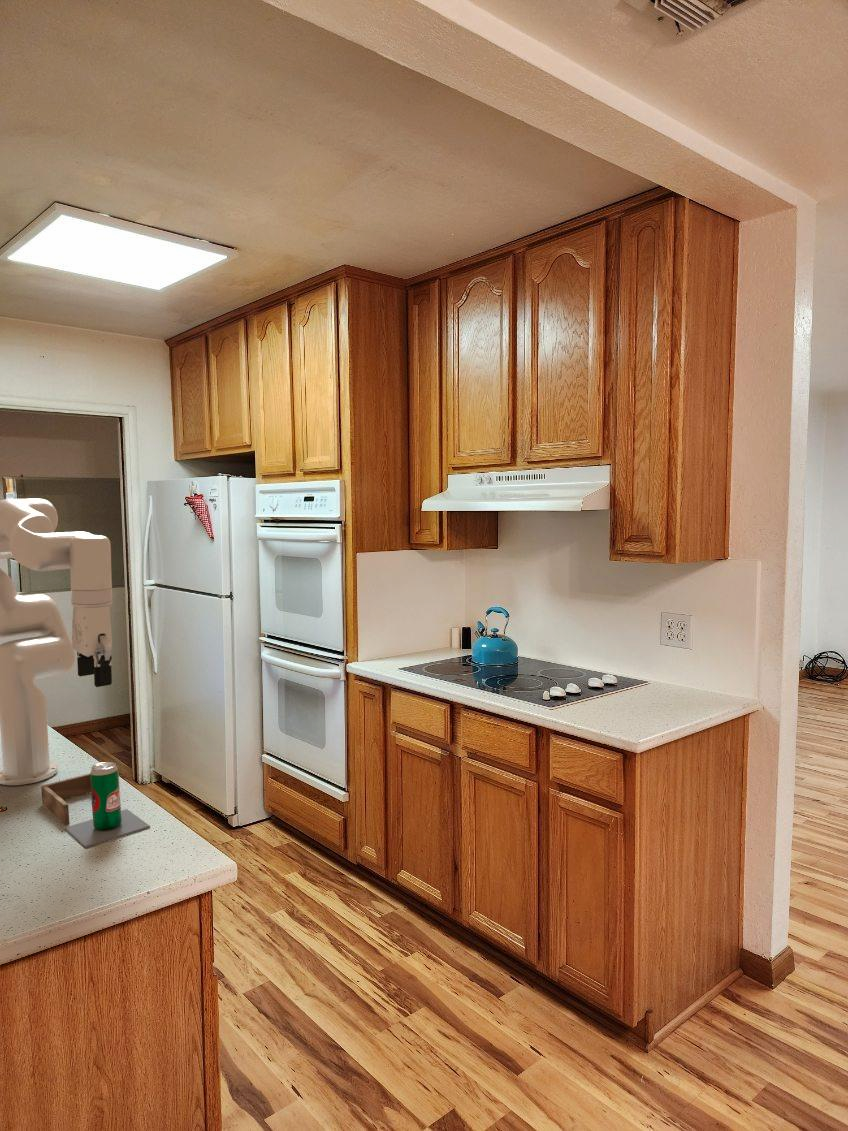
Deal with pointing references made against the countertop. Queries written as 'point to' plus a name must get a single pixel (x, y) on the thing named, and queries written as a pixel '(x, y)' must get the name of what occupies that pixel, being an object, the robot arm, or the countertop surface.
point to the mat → (93, 836)
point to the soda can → (105, 796)
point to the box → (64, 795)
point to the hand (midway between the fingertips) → (94, 680)
